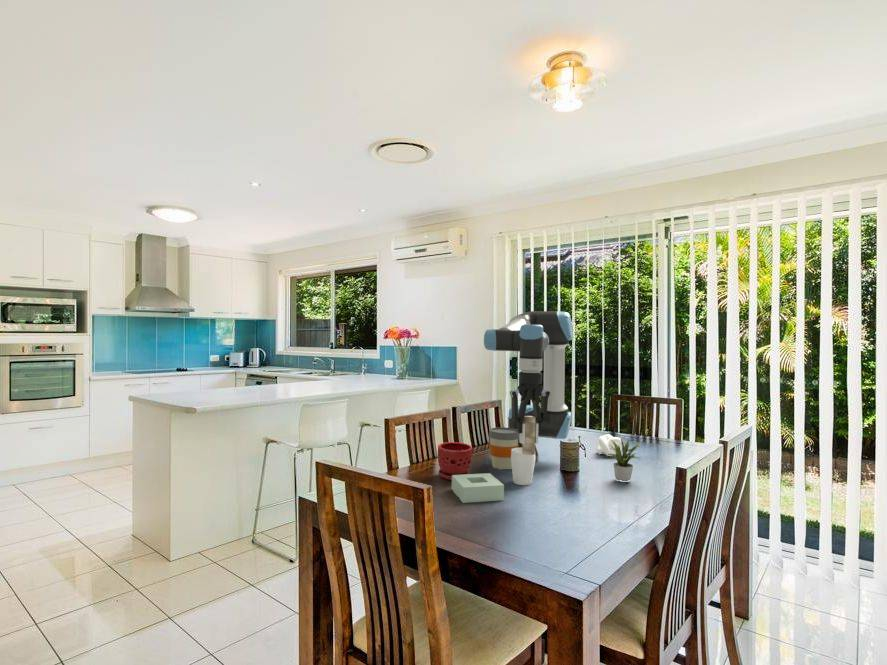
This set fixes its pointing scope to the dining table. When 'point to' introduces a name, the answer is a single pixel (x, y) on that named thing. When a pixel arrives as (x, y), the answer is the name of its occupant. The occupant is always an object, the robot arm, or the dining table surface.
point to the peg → (529, 436)
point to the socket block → (477, 487)
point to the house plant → (623, 461)
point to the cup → (522, 467)
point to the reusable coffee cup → (502, 446)
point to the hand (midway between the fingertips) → (528, 442)
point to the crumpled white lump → (605, 447)
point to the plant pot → (454, 459)
